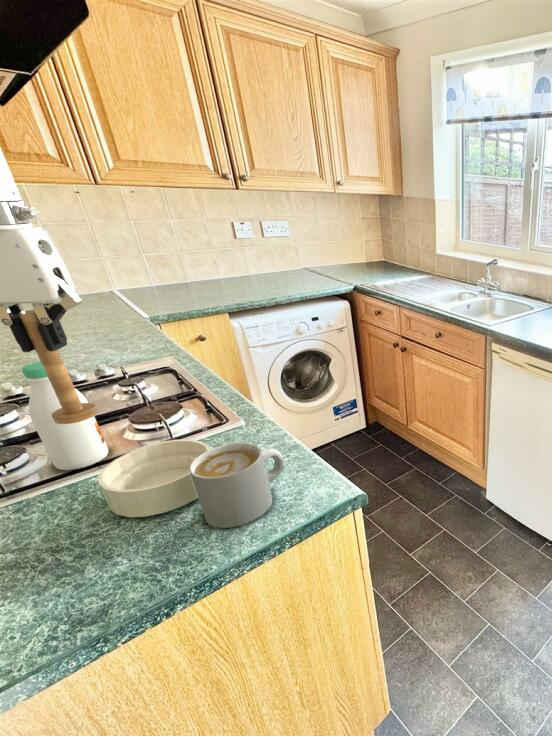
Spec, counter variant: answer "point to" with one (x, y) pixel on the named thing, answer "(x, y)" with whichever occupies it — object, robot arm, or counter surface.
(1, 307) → the robot arm
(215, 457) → the coffee mug
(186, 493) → the bowl
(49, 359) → the wooden masher
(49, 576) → the counter surface
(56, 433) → the milk bottle
